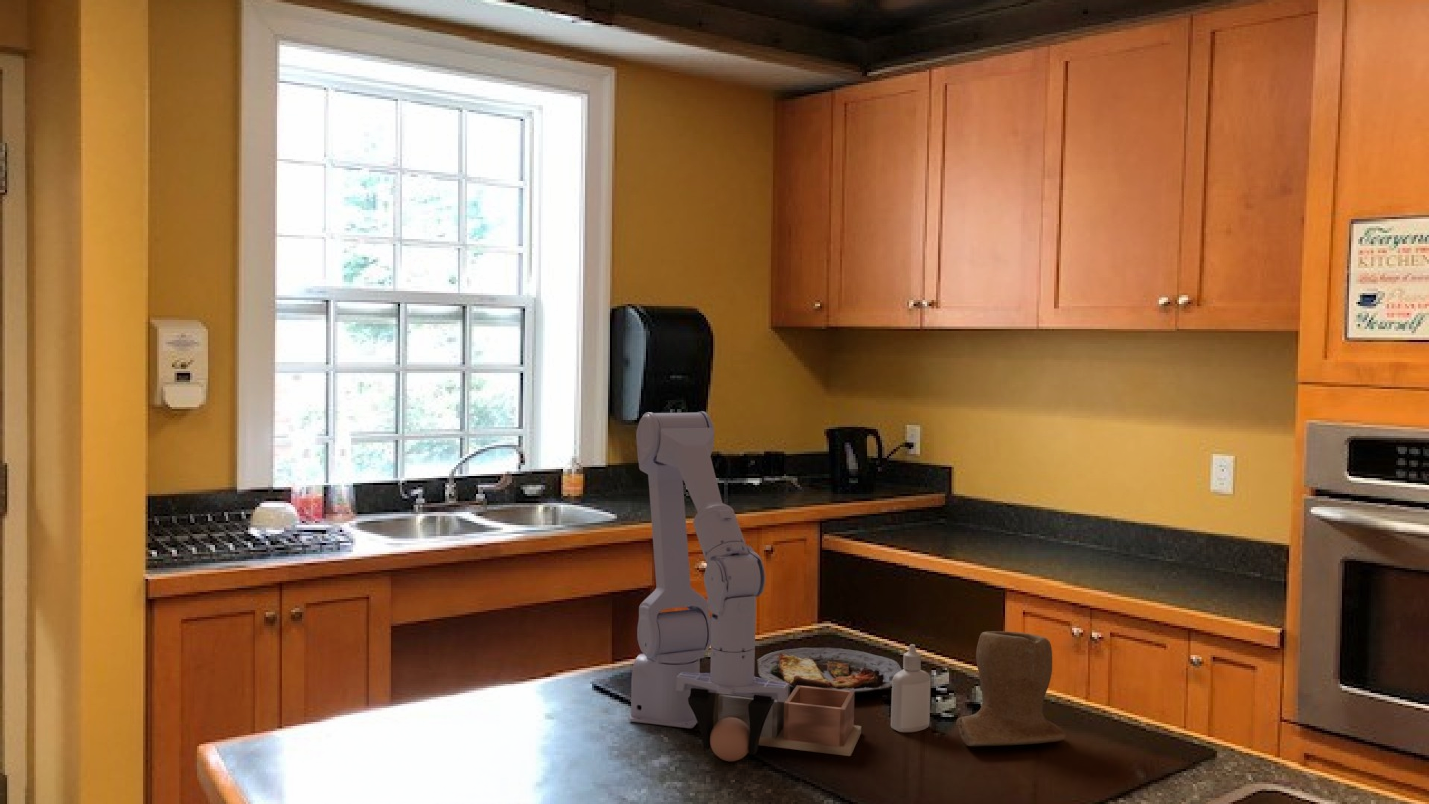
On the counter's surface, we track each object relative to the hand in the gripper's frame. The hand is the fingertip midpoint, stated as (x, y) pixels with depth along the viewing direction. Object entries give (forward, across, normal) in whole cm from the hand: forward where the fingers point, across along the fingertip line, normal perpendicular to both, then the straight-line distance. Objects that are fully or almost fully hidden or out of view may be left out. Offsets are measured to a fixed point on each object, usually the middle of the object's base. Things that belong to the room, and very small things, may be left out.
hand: (730, 749), depth 150 cm
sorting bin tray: (+1, +5, +11) cm, 12 cm away
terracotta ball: (-1, 0, 0) cm, 1 cm away
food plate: (+2, +6, +39) cm, 40 cm away
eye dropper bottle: (+2, +21, +20) cm, 29 cm away
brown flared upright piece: (+2, +34, +20) cm, 39 cm away
